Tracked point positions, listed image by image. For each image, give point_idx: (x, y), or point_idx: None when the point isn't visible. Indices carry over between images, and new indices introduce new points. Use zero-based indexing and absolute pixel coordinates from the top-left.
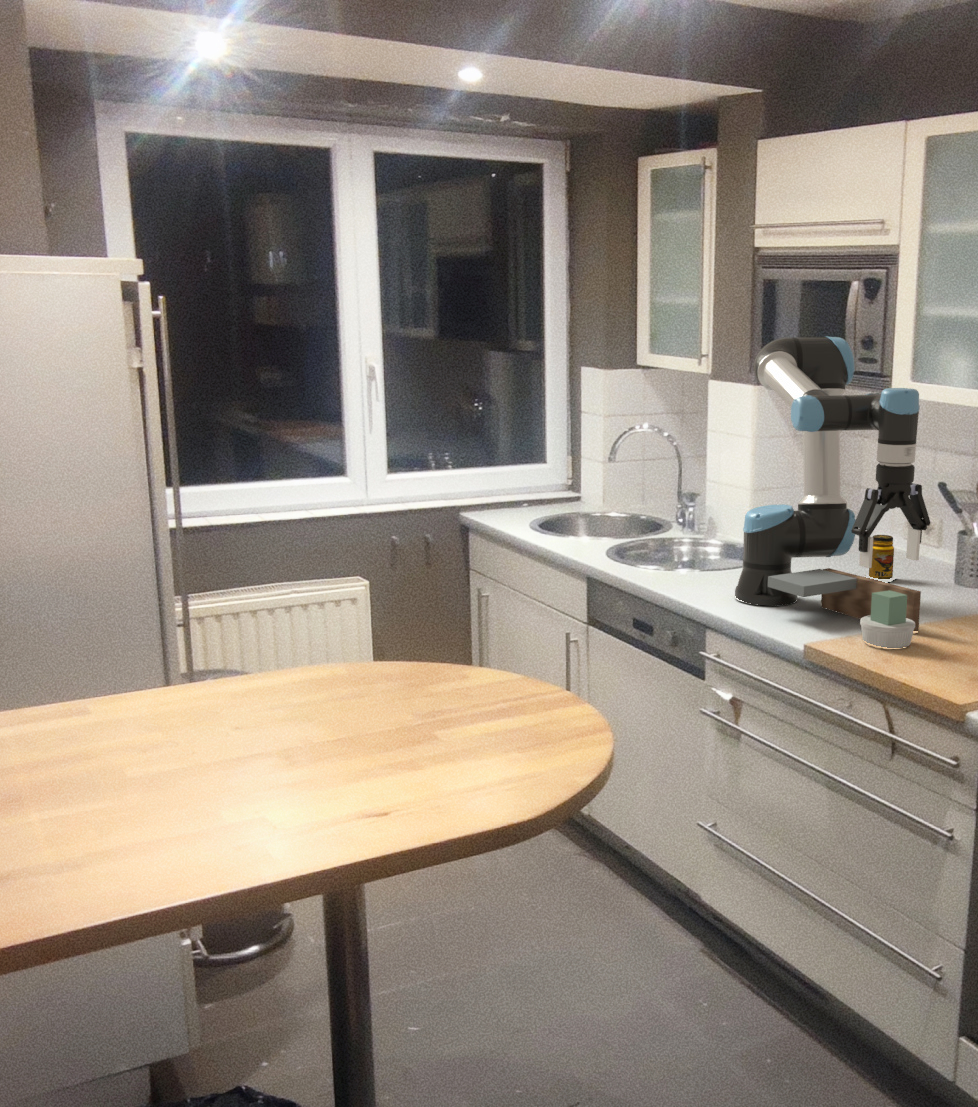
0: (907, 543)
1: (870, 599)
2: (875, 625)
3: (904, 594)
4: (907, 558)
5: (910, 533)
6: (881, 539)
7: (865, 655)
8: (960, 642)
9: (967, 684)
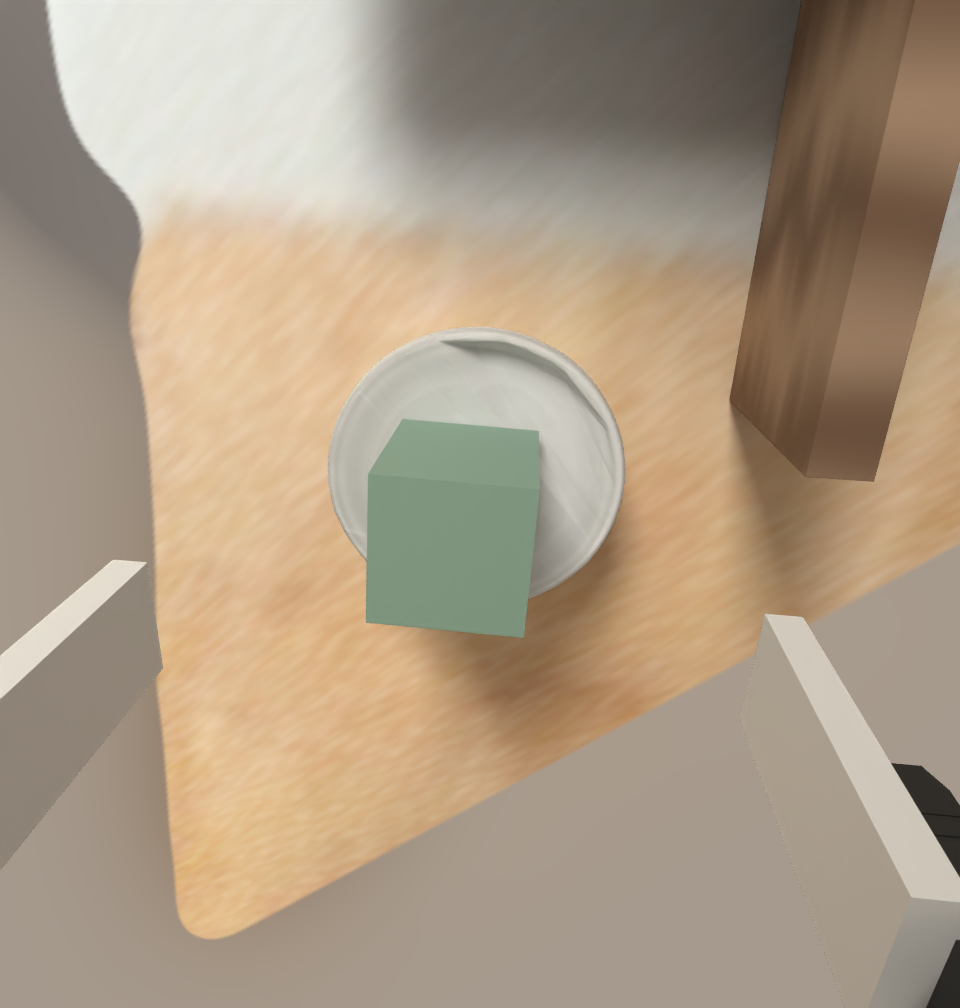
0: (816, 726)
1: (848, 24)
2: (344, 504)
3: (520, 619)
4: (761, 629)
5: (866, 873)
6: None
7: (264, 507)
8: (782, 605)
9: (331, 878)
